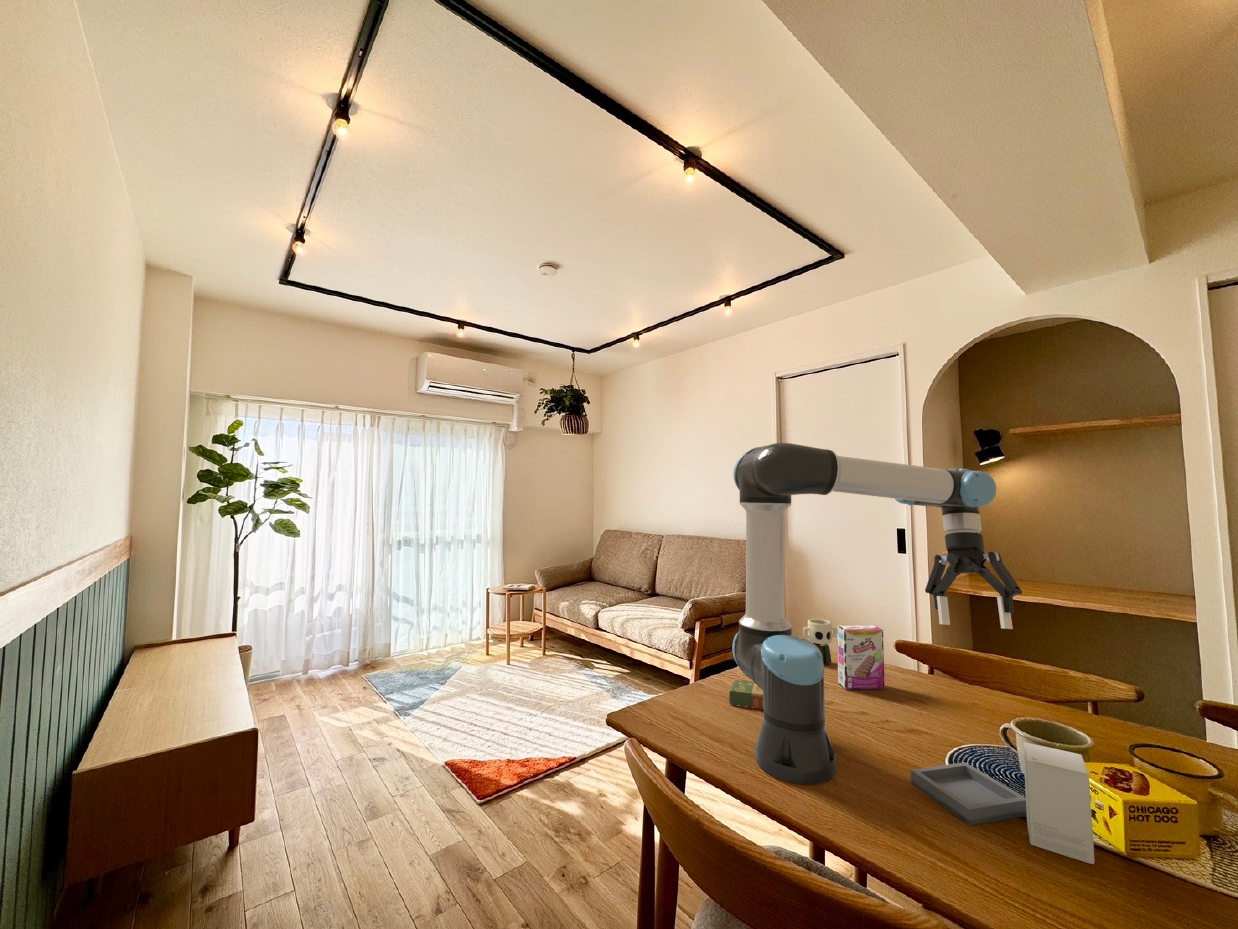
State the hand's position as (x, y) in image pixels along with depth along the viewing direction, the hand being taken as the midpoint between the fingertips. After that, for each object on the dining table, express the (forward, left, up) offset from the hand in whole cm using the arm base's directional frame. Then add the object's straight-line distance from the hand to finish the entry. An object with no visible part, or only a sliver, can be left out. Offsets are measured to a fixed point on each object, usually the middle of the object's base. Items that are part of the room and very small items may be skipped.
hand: (974, 626), depth 113 cm
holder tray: (-25, -20, -23) cm, 39 cm away
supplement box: (-21, -32, -23) cm, 45 cm away
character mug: (-6, +50, -23) cm, 55 cm away
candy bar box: (-8, +29, -23) cm, 38 cm away
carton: (-40, +25, -24) cm, 53 cm away
